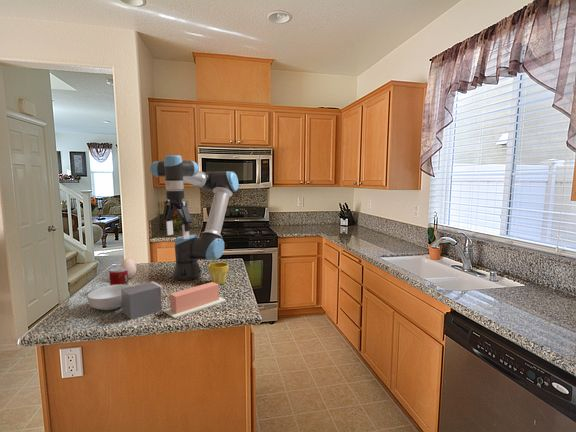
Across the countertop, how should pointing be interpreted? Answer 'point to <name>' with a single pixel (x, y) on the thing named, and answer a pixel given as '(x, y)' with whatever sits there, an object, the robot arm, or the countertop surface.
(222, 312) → the countertop surface
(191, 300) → the long pink block
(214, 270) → the plant pot
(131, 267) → the egg
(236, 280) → the countertop surface
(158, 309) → the grey block
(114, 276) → the canned food
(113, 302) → the cereal bowl
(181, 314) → the pale green flat board
